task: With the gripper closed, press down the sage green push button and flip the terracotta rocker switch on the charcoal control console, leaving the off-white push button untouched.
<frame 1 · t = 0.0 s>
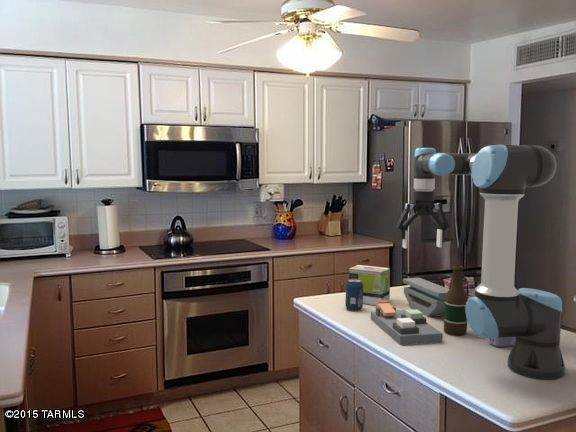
hand: (422, 247, 197), 28 cm above the worktop, tool pointing down, fingers open, 13 cm apart
rocker switch: (385, 307, 197), point 6 cm above the worktop, hinge at -12.0°
control console: (404, 330, 190), on the worktop
tea box: (368, 302, 227), on the worktop
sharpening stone: (427, 312, 213), on the worktop
green button: (413, 314, 190), point 6 cm above the worktop, slide at 0.0 cm
soda can: (353, 309, 215), on the worktop
cake pan box: (516, 343, 177), on the worktop
beer bottle: (455, 333, 187), on the worktop
white button: (405, 323, 180), point 6 cm above the worktop, slide at 0.0 cm
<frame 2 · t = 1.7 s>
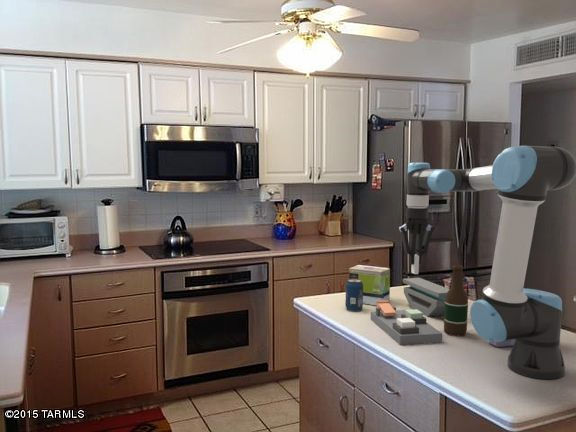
hand: (414, 273, 188), 20 cm above the worktop, tool pointing down, fingers closed
nothing on the worktop moved.
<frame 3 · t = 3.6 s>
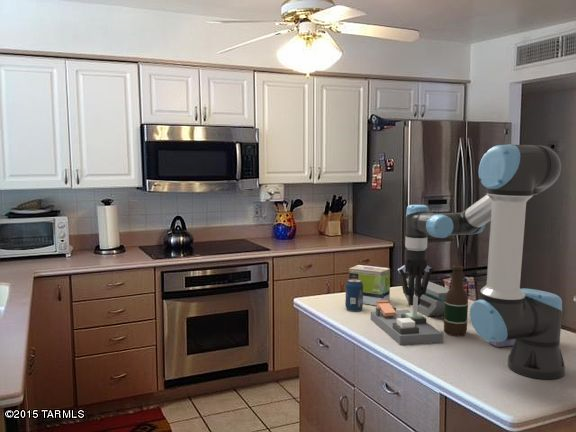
hand: (413, 313, 190), 6 cm above the worktop, tool pointing down, fingers closed
green button: (413, 317, 190), point 4 cm above the worktop, slide at 1.2 cm, touching gripper
everything else where it was.
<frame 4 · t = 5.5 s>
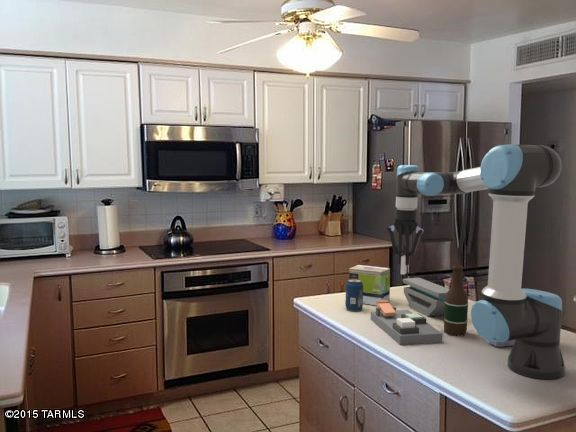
hand: (403, 273, 192), 19 cm above the worktop, tool pointing down, fingers closed
green button: (413, 318, 190), point 4 cm above the worktop, slide at 1.4 cm
everything else where it was.
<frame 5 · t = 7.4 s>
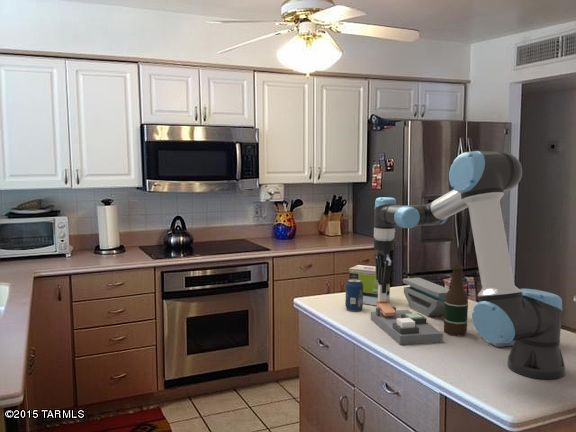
hand: (382, 300, 201), 7 cm above the worktop, tool pointing down, fingers closed
rocker switch: (385, 307, 197), point 6 cm above the worktop, hinge at -11.5°, touching gripper
everything else where it was.
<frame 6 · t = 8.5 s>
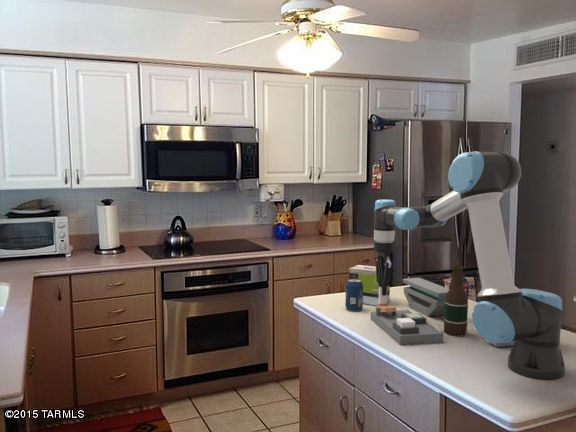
hand: (382, 303, 200), 7 cm above the worktop, tool pointing down, fingers closed
rocker switch: (385, 307, 197), point 6 cm above the worktop, hinge at 9.8°
everything else where it was.
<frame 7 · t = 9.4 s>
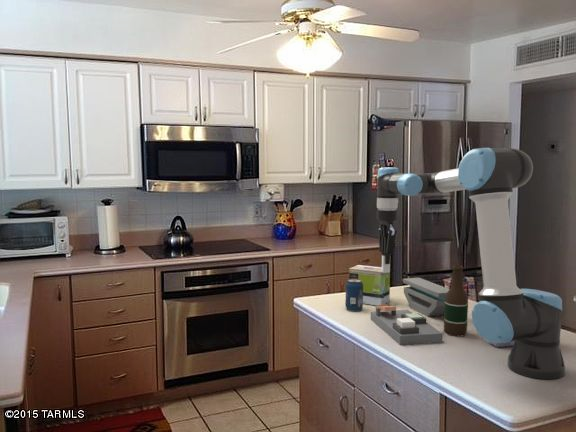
hand: (385, 272, 199), 19 cm above the worktop, tool pointing down, fingers closed
rocker switch: (385, 307, 197), point 6 cm above the worktop, hinge at 13.8°
everything else where it was.
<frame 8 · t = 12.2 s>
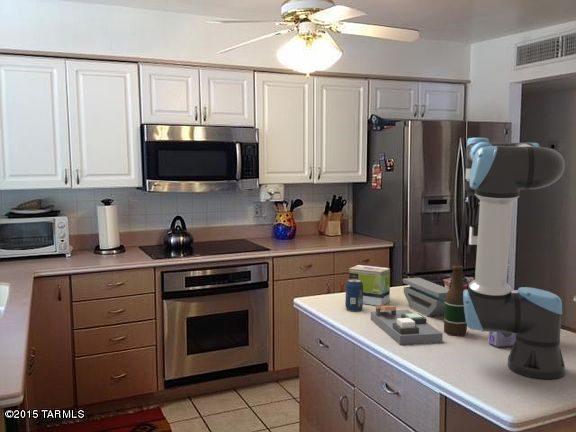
hand: (473, 244, 197), 29 cm above the worktop, tool pointing down, fingers closed
rocker switch: (385, 307, 197), point 6 cm above the worktop, hinge at 14.7°
everything else where it was.
at the end: green button slide at 1.4 cm; rocker switch at +15° (first picture: -12°); white button slide at 0.0 cm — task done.
